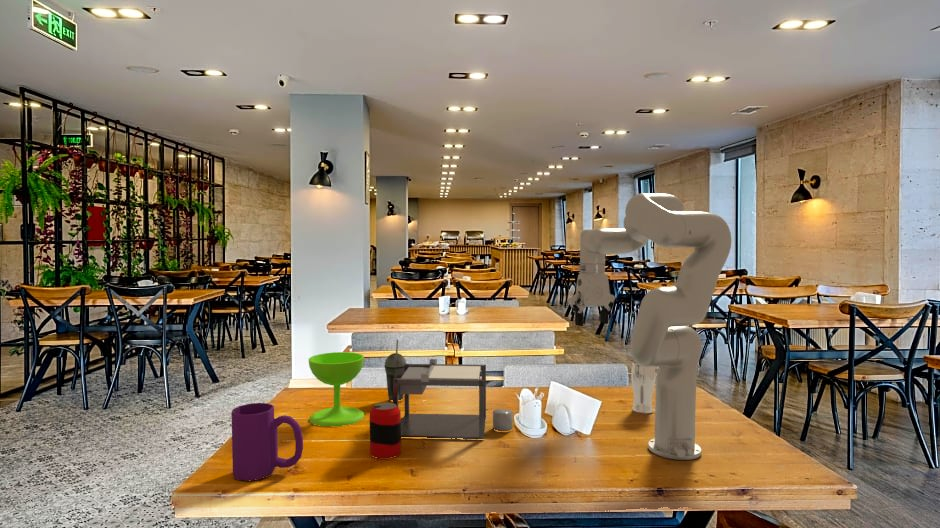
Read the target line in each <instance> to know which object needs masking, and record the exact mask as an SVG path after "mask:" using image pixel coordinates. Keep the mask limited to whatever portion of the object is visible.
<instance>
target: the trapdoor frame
mask: <svg viewBox="0 0 940 528" xmlns="http://www.w3.org/2000/svg"><path fill="white" fill-rule="evenodd" d="M428 362H429V363H406V364H404V373H405V372H406V370H407V369H408V368H409V367H430V366H431V365H432V364H433V365H435V366H481V370H480V372H481V379H480V378H479V379H429V373H422V374H421V379H411V378H394V379H393V402H392V403H394V404H396V405H397V407H398V408H399V409H400V407H399V403H400V402H399V401H398V385H425V386H426V387H427V386H431V387H432V386H433V387H435V386H437V387H439V386H440V387H478V414H455V413H454V414H452V413H449V414H447V413H410V394H404V416H403V417H402V419H401V437H427V438H451V439H452V438H455V439H457V438H463V439H484V440H485V432H484V431H485V430H486V422H485V420H486V421H487V405H486V404H487V364H462V363H461V364H460V363H459V364H457V363H456V364H455V363H454V364H453V363H451V364H450V363H448V364H447V363H442V364H441V363H438V359H437V358H430V359H429V361H428Z"/></svg>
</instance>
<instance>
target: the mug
mask: <svg viewBox="0 0 940 528" xmlns="http://www.w3.org/2000/svg"><path fill="white" fill-rule="evenodd" d="M230 418H231V446H232V447H231V453H232V477H233V478H234V477H235V479H236V480H238V481H240V480H246V481H245V482H250V481H249V480H255V479H260V480H262V479H261V478H263V477H266V476H268V477H270V476H271V475H272V474H273V472H274V471H275V469H276V467H277V468H282V469H283V468H286V469H287V468H290V467H293V466H295V465H297V463H298V462H299V460H301V458H302V454H303V450H304V437H303V432H302V431H303V430H302V428H301V426H300V423H299V422H298V421H297V420H296V419H295V418H293V417H292V416H290V415H280V416H278V417H276V418H275V405H273V404H271V403H267V402H266V403H265V402H255V403H253V402H252V403H247V404H243V405H239V406H237V407H235V408H232V409H231V417H230ZM283 424H287V425H288V426H290V427H291V429H292V431H293V434H294V440H295V441H294V442H295V449H294V450H295V451H294V455H292V457H289V458H283V457H279V455H278V454H279V452H278V451H279V450H278V449H279V448H278V447H279V446H278V443H279V441H278V427H280V426H281V425H283ZM269 475H270V476H269ZM266 478H267V477H266ZM263 479H264V478H263ZM255 481H256V480H255Z"/></svg>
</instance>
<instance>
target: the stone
mask: <svg viewBox="0 0 940 528" xmlns="http://www.w3.org/2000/svg"><path fill="white" fill-rule="evenodd" d="M513 416H514V414H513V410H511V409H507V408H497V409H494V410H492V429H493V428H494V429H495V430H498V431H509V430H511V429H512V428H513V427H514V425H513V422H514V419H513Z"/></svg>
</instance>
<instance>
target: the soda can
mask: <svg viewBox="0 0 940 528" xmlns="http://www.w3.org/2000/svg"><path fill="white" fill-rule="evenodd" d="M401 413H402V412H401V409H400V407H399V408H398V407H397V405H396V404H394V403H393V402H380V403H376V404H374V405H373V406H372V408H371V409H370V410H369V454H371V455H372V456H374V457H377V458H390V457H394V456H397V455H398V454H399V455H400V454H401V452H402V447H401V446H402V439H401V421H402V419H401ZM371 455H370V456H371ZM399 455H398V456H399ZM372 456H371V457H372ZM398 456H397V457H398ZM374 457H373V458H374ZM394 458H395V457H394Z"/></svg>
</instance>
